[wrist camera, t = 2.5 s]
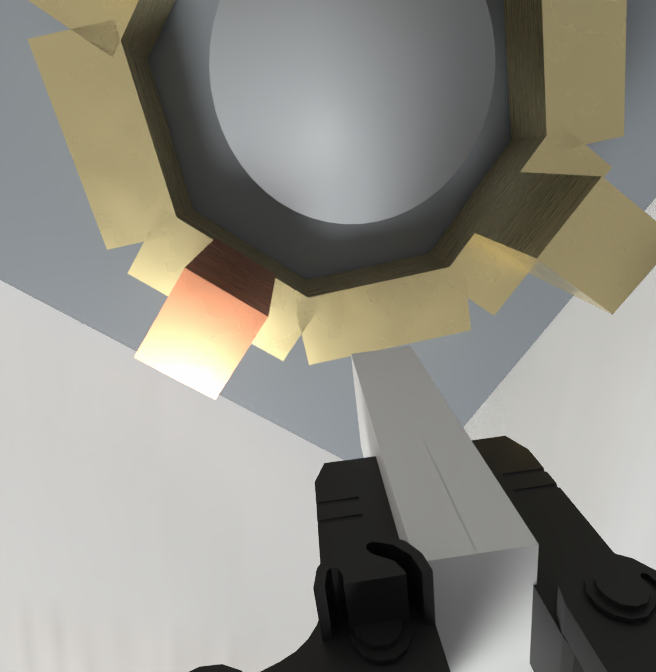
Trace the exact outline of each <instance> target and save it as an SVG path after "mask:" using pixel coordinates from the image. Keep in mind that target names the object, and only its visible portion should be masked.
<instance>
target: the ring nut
mask: <svg viewBox="0 0 656 672" xmlns="http://www.w3.org/2000/svg"><path fill="white" fill-rule="evenodd" d="M28 1H30V2H31V3H33V4H34V5H36V6H37V7H38V8H40V9H41V10H43V11H44V12H46V13H47V14H49V15H50V16H52V17H53V18H55V19H56V20H58V21H59V22H61V23H62V24H64V25H65V26H67V27H68V28H70V29H69V30H65V31H60V32H56V33H52V34H47V35H43V36H38V37H34V38H30V39H28V42H29V45H30V47H31V50H32V53H33V55H34V58H35V61H36V63H37V66H38V69H39V71H40V74H41V77H42V79H43V82H44V84H45V87H46V90H47V92H48V95H49V98H50V100H51V103H52V106H53V108H54V111H55V114H56V116H57V119H58V122H59V124H60V127H61V129H62V132H63V135H64V137H65V140H66V143H67V145H68V148H69V151H70V153H71V156H72V159H73V161H74V164H75V167H76V169H77V172H78V174H79V177H80V180H81V182H82V185H83V188H84V190H85V193H86V196H87V198H88V201H89V204H90V206H91V209H92V212H93V214H94V217H95V219H96V222H97V225H98V227H99V230H100V233H101V235H102V238H103V241H104V243H105V246H106V249H107V250H108V249H113V248H117V247H122V246H127V245H131V244H136V243H140V242H144V243H143V245H142V247H141V249H140V251H139V252H138V254H137V256H136V258H135V260H134V262H133V264H132V266H131V268H130V270H129V271H128V274H129V275H131V276H133V277H135V278H136V279H138V280H140V281H142V282H144V283H145V284H147V285H149V286H151V287H152V288H154V289H156V290H158V291H160V292H161V293H163V294H165V295H167V296H168V298H167V300H166V302H165V303H164V305H163V307H162V309H161V310H160V312H159V314H158V316H157V318H156V319H155V321H154V323H153V325H152V326H151V328H150V330H149V332H148V333H147V335H146V337H145V339H144V341H143V342H142V344H141V346H140V348H139V349H138V351H137V353H136V355H135V357H134V358H136V359H138V360H140V361H142V362H144V363H146V364H148V365H150V366H152V367H154V368H155V369H157V370H159V371H161V372H163V373H165V374H167V375H169V376H171V377H173V378H175V379H177V380H179V381H180V382H182V383H184V384H186V385H188V386H190V387H192V388H194V389H196V390H198V391H200V392H202V393H204V394H206V395H207V396H209V397H211V398H213V399H216V398H217V396H218V395H219V393H220V392H221V390H222V388H223V387H224V385H225V384H226V382H227V381H228V379H229V377H230V376H231V374H232V373H233V371H234V370H235V368H236V366H237V365H238V363H239V362H240V360H241V359H242V357H243V356H244V354H245V352H246V351H247V349H248V348H249V346H250V345H251V343H252V344H254V345H255V346H257V347H259V348H261V349H262V350H264V351H266V352H268V353H269V354H271V355H273V356H275V357H277V358H278V359H280V360H282V361H284V359H285V358H286V356H287V355H288V353H289V352H290V350H291V349H292V347H293V346H294V344H295V343H296V341H297V340H298V338H299V337H300V335H301V334H302V338H303V342H304V346H305V350H306V354H307V359H308V363H309V365H312V364H316V363H321V362H326V361H330V360H335V359H340V358H344V357H349V356H351V354H354V353H361V352H368V351H376V350H382V349H386V348H391V347H395V346H400V345H405V344H409V343H414V342H419V341H423V340H428V339H433V338H437V337H442V336H447V335H451V334H456V333H461V332H465V331H470V330H471V324H470V315H469V305H468V298H469V299H470V300H472V301H473V302H475V303H476V304H477V305H479V306H480V307H482V308H483V309H485V310H486V311H488V312H489V313H491V314H492V315H495V314H496V313H497V312H498V310H499V309H500V308H501V307H502V305H503V304H504V303H505V302H506V300H507V299H508V298H509V296H510V295H511V294H512V293H513V291H514V290H515V289H516V288H517V286H518V285H519V284H520V283H521V281H522V280H523V279H524V278H525V276H526V275H527V274H528V273H529V274H531V275H533V276H535V277H537V278H539V279H541V280H543V281H545V282H547V283H549V284H551V285H553V286H556V287H558V288H560V289H562V290H564V291H566V292H568V293H570V294H572V295H574V296H576V297H578V298H580V299H582V300H584V301H586V302H588V303H590V304H592V305H594V306H596V307H598V308H600V309H603V310H605V311H607V312H609V313H611V314H613V313H614V312H615V311H616V310H617V309H618V308H619V306H620V305H621V304H622V303H623V302H624V301H625V300H626V298H627V297H628V296H629V295H630V294H631V293H632V292H633V290H634V289H635V288H636V287H637V286H638V285H639V284H640V282H641V281H642V280H643V279H644V278H645V277H646V276H647V274H648V273H649V272H650V271H651V270H652V269H653V268H654V266H655V265H656V221H655V220H654V219H653V218H651V217H650V216H649V215H648V214H647V213H645V212H644V211H643V210H642V209H641V208H639V207H638V206H637V205H636V204H635V203H633V202H632V201H631V200H630V199H629V198H627V197H626V196H625V195H624V194H623V193H621V192H620V191H619V190H618V189H617V188H615V187H614V186H613V185H612V184H611V183H609V182H608V181H607V180H606V179H605V178H604V177H605V176H606V175H607V173H608V172H609V171H610V169H611V168H612V166H610V165H609V164H608V163H607V162H606V161H604V160H603V159H602V158H601V157H600V156H599V155H597V154H596V153H595V152H594V151H593V150H591V149H590V148H589V147H588V146H587V145H586V144H590V143H595V142H599V141H604V140H608V139H613V138H617V137H622V136H624V109H625V60H626V12H627V0H503V3H504V20H505V36H506V53H507V70H508V87H509V104H510V120H511V137H512V139H511V141H510V142H509V144H508V145H507V146H506V148H505V149H504V150H503V152H502V153H501V155H500V156H499V157H498V159H497V160H496V162H495V163H494V164H493V166H492V167H491V169H490V170H489V171H488V173H487V174H486V175H485V177H484V178H483V180H482V181H481V182H480V184H479V185H478V187H477V188H476V189H475V191H474V192H473V194H472V195H471V196H470V198H469V199H468V200H467V202H466V203H465V205H464V206H463V207H462V209H461V210H460V212H459V213H458V214H457V216H456V217H455V219H454V220H453V221H452V223H451V224H450V226H449V227H448V228H447V230H446V231H445V232H444V234H443V235H442V237H441V238H440V239H439V241H438V242H437V244H436V245H435V246H434V248H433V249H432V251H431V252H430V253H428V254H423V255H419V256H414V257H409V258H405V259H400V260H396V261H391V262H386V263H382V264H377V265H373V266H368V267H363V268H359V269H354V270H350V271H345V272H340V273H336V274H331V275H327V276H322V277H318V278H313V279H308V280H306V279H304V278H303V277H301V276H300V275H298V274H296V273H295V272H293V271H292V270H290V269H288V268H287V267H285V266H283V265H282V264H280V263H279V262H277V261H275V260H274V259H272V258H271V257H269V256H267V255H266V254H264V253H263V252H261V251H259V250H258V249H256V248H255V247H253V246H251V245H250V244H248V243H246V242H245V241H243V240H242V239H240V238H238V237H237V236H235V235H234V234H232V233H230V232H229V231H227V230H226V229H224V228H222V227H221V226H219V225H218V224H216V223H214V222H213V221H211V220H209V219H208V218H206V217H205V216H203V215H201V214H200V213H198V212H197V211H195V210H193V207H192V204H191V200H190V197H189V194H188V190H187V187H186V184H185V180H184V177H183V174H182V170H181V167H180V164H179V161H178V157H177V154H176V151H175V147H174V144H173V141H172V137H171V134H170V131H169V127H168V124H167V121H166V117H165V114H164V111H163V107H162V104H161V101H160V98H159V94H158V91H157V88H156V84H155V81H154V78H153V74H152V71H151V68H150V64H149V61H148V58H149V55H150V53H151V51H152V49H153V47H154V45H155V43H156V41H157V38H158V36H159V34H160V32H161V30H162V28H163V26H164V24H165V22H166V19H167V17H168V15H169V13H170V11H171V9H172V7H173V5H174V2H175V0H28Z"/></svg>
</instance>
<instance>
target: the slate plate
mask: <svg viewBox="0 0 656 672" xmlns="http://www.w3.org/2000/svg"><path fill="white" fill-rule="evenodd" d="M69 29H70V28H68V27H67V26H65V25H64V24H62V23H61V22H59V21H58V20H56V19H55V18H53V17H52V16H50V15H49V14H47V13H46V12H44V11H43V10H41V9H40V8H38V7H37V6H36V5H34V4H33V3H31V2H30V1H28V0H0V280H2V281H3V282H5V283H7V284H9V285H11V286H13V287H15V288H17V289H19V290H21V291H23V292H24V293H26V294H28V295H30V296H32V297H34V298H36V299H38V300H40V301H42V302H44V303H45V304H47V305H49V306H51V307H53V308H55V309H57V310H59V311H61V312H63V313H65V314H66V315H68V316H70V317H72V318H74V319H76V320H78V321H80V322H82V323H84V324H86V325H87V326H89V327H91V328H93V329H95V330H97V331H99V332H101V333H103V334H105V335H107V336H108V337H110V338H112V339H114V340H116V341H118V342H120V343H122V344H124V345H126V346H128V347H129V348H131V349H133V350H135V351H138V349H139V348H140V346H141V344H142V342H143V341H144V339H145V337H146V335H147V333H148V332H149V330H150V328H151V326H152V325H153V323H154V321H155V319H156V318H157V316H158V314H159V312H160V310H161V309H162V307H163V305H164V303H165V302H166V300H167V298H168V296H167V295H165V294H163V293H161V292H160V291H158V290H156V289H154V288H152V287H151V286H149V285H147V284H145V283H144V282H142V281H140V280H138V279H136V278H135V277H133V276H131V275H129V274H128V271H129V270H130V268H131V266H132V264H133V262H134V260H135V258H136V256H137V254H138V252H139V251H140V249H141V247H142V245H143V243H144V242H140V243H136V244H131V245H127V246H122V247H117V248H113V249H108V250H107V249H106V246H105V243H104V241H103V238H102V235H101V233H100V230H99V227H98V225H97V222H96V219H95V217H94V214H93V212H92V209H91V206H90V204H89V201H88V198H87V196H86V193H85V190H84V188H83V185H82V182H81V180H80V177H79V174H78V172H77V169H76V167H75V164H74V161H73V159H72V156H71V153H70V151H69V148H68V145H67V143H66V140H65V137H64V135H63V132H62V129H61V127H60V124H59V122H58V119H57V116H56V114H55V111H54V108H53V106H52V103H51V100H50V98H49V95H48V92H47V90H46V87H45V84H44V82H43V79H42V77H41V74H40V71H39V69H38V66H37V63H36V61H35V58H34V55H33V53H32V50H31V47H30V45H29V42H28V39H30V38H34V37H38V36H43V35H47V34H52V33H56V32H60V31H65V30H69ZM148 61H149V64H150V68H151V71H152V74H153V78H154V81H155V84H156V88H157V91H158V94H159V98H160V101H161V104H162V107H163V111H164V114H165V117H166V121H167V124H168V127H169V131H170V134H171V137H172V141H173V144H174V147H175V151H176V154H177V157H178V161H179V164H180V167H181V170H182V174H183V177H184V180H185V184H186V187H187V190H188V194H189V197H190V200H191V204H192V207H193V210H195V211H197V212H198V213H200V214H201V215H203V216H205V217H206V218H208V219H209V220H211V221H213V222H214V223H216V224H218V225H219V226H221V227H222V228H224V229H226V230H227V231H229V232H230V233H232V234H234V235H235V236H237V237H238V238H240V239H242V240H243V241H245V242H246V243H248V244H250V245H251V246H253V247H255V248H256V249H258V250H259V251H261V252H263V253H264V254H266V255H267V256H269V257H271V258H272V259H274V260H275V261H277V262H279V263H280V264H282V265H283V266H285V267H287V268H288V269H290V270H292V271H293V272H295V273H296V274H298V275H300V276H301V277H303V278H304V279H306V280H308V279H313V278H318V277H322V276H327V275H331V274H336V273H340V272H345V271H350V270H354V269H359V268H363V267H368V266H373V265H377V264H382V263H386V262H391V261H396V260H400V259H405V258H409V257H414V256H419V255H423V254H428V253H430V252H431V251H432V249H433V248H434V246H435V245H436V244H437V242H438V241H439V239H440V238H441V237H442V235H443V234H444V232H445V231H446V230H447V228H448V227H449V226H450V224H451V223H452V221H453V220H454V219H455V217H456V216H457V214H458V213H459V212H460V210H461V209H462V207H463V206H464V205H465V203H466V202H467V200H468V199H469V198H470V196H471V195H472V194H473V192H474V191H475V189H476V188H477V187H478V185H479V184H480V182H481V181H482V180H483V178H484V177H485V175H486V174H487V173H488V171H489V170H490V169H491V167H492V166H493V164H494V163H495V162H496V160H497V159H498V157H499V156H500V155H501V153H502V152H503V150H504V149H505V148H506V146H507V145H508V144H509V142H510V141H511V139H512V137H511V120H510V104H509V87H508V70H507V53H506V36H505V20H504V3H503V0H175V2H174V5H173V7H172V9H171V11H170V13H169V15H168V17H167V19H166V22H165V24H164V26H163V28H162V30H161V32H160V34H159V36H158V38H157V41H156V43H155V45H154V47H153V49H152V51H151V53H150V55H149V58H148ZM586 145H587V146H588V147H589V148H590V149H591V150H593V151H594V152H595V153H596V154H597V155H599V156H600V157H601V158H602V159H603V160H604V161H606V162H607V163H608V164H609V165H610V166H612V168H611V169H610V171H609V172H608V173H607V175H606V176H605V177H604V178H605V179H606V180H607V181H608V182H609V183H611V184H612V185H613V186H614V187H615V188H617V189H618V190H619V191H620V192H621V193H623V194H624V195H625V196H626V197H627V198H629V199H630V200H631V201H632V202H633V203H635V204H636V205H637V206H638V207H639V208H641V209H642V210H643V211H645V210H646V208H647V207H648V206H649V205H650V204H651V202H652V201H653V200H654V199H655V198H656V0H627V12H626V60H625V109H624V136H622V137H617V138H613V139H608V140H604V141H599V142H595V143H590V144H586ZM573 296H574V295H572V294H570V293H568V292H566V291H564V290H562V289H560V288H558V287H556V286H553V285H551V284H549V283H547V282H545V281H543V280H541V279H539V278H537V277H535V276H533V275H531V274H529V273H528V274H527V275H526V276H525V278H524V279H523V280H522V281H521V283H520V284H519V285H518V286H517V288H516V289H515V290H514V291H513V293H512V294H511V295H510V296H509V298H508V299H507V300H506V302H505V303H504V304H503V305H502V307H501V308H500V309H499V310H498V312H497V313H496V314H495V315H492V314H491V313H489V312H488V311H486V310H485V309H483V308H482V307H480V306H479V305H477V304H476V303H475V302H473V301H472V300H470V299H469V298H468V305H469V315H470V324H471V330H470V331H465V332H461V333H456V334H451V335H447V336H442V337H437V338H433V339H428V340H423V341H419V342H414V343H409V344H405V345H400V346H395V347H391V348H398V347H405V346H411V348H412V350H413V351H414V353H415V354H416V356H417V357H418V359H419V360H420V362H421V363H422V365H423V367H424V368H425V370H426V371H427V373H428V374H429V376H430V377H431V379H432V380H433V382H434V384H435V385H436V387H437V388H438V390H439V391H440V393H441V394H442V396H443V397H444V399H445V400H446V402H447V404H448V405H449V407H450V408H451V410H452V411H453V413H454V414H455V416H456V417H457V419H458V421H459V422H460V424H461V425H462V427H464V426H465V424H466V423H467V422H468V421H469V420H470V418H471V417H472V416H473V415H474V414H475V412H476V411H477V410H478V409H479V408H480V406H481V405H482V404H483V403H484V402H485V401H486V399H487V398H488V397H489V396H490V395H491V393H492V392H493V391H494V390H495V389H496V387H497V386H498V385H499V384H500V383H501V381H502V380H503V379H504V378H505V377H506V375H507V374H508V373H509V372H510V371H511V369H512V368H513V367H514V366H515V365H516V364H517V362H518V361H519V360H520V359H521V358H522V356H523V355H524V354H525V353H526V352H527V350H528V349H529V348H530V347H531V346H532V344H533V343H534V342H535V341H536V340H537V338H538V337H539V336H540V335H541V334H542V333H543V331H544V330H545V329H546V328H547V327H548V325H549V324H550V323H551V322H552V321H553V319H554V318H555V317H556V316H557V315H558V313H559V312H560V311H561V310H562V309H563V307H564V306H565V305H566V304H567V303H568V301H569V300H570V299H571V298H572V297H573ZM386 349H390V348H386ZM382 350H383V349H382ZM219 395H221V396H223V397H225V398H227V399H229V400H231V401H233V402H234V403H236V404H238V405H240V406H242V407H244V408H246V409H248V410H250V411H252V412H254V413H255V414H257V415H259V416H261V417H263V418H265V419H267V420H269V421H271V422H273V423H275V424H276V425H278V426H280V427H282V428H284V429H286V430H288V431H290V432H292V433H294V434H296V435H297V436H299V437H301V438H303V439H305V440H307V441H309V442H311V443H313V444H315V445H317V446H318V447H320V448H322V449H324V450H326V451H328V452H330V453H332V454H334V455H336V456H338V457H339V458H341V459H343V460H351V459H358V458H364V457H363V453H362V449H361V442H360V433H359V423H358V414H357V405H356V396H355V387H354V377H353V368H352V359H351V356H349V357H344V358H340V359H335V360H330V361H326V362H321V363H316V364H312V365H309V363H308V359H307V354H306V350H305V346H304V342H303V338H302V334H301V335H300V337H299V338H298V340H297V341H296V343H295V344H294V346H293V347H292V349H291V350H290V352H289V353H288V355H287V356H286V358H285V359H284V361H282V360H280V359H278V358H277V357H275V356H273V355H271V354H269V353H268V352H266V351H264V350H262V349H261V348H259V347H257V346H255V345H254V344H252V343H251V345H250V346H249V348H248V349H247V351H246V352H245V354H244V356H243V357H242V359H241V360H240V362H239V363H238V365H237V366H236V368H235V370H234V371H233V373H232V374H231V376H230V377H229V379H228V381H227V382H226V384H225V385H224V387H223V388H222V390H221V392H220V393H219Z"/></svg>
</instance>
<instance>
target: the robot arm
mask: <svg viewBox="0 0 656 672" xmlns="http://www.w3.org/2000/svg"><path fill="white" fill-rule="evenodd" d="M351 359H352V368H353V377H354V387H355V396H356V405H357V414H358V423H359V433H360V442H361V449H362V453H363V457H364V458H358V459H351V460H344V461H337V462H330V463H324V465H323V467H322V469H321V471H320V473H319V475H318V477H317V479H316V481H315V491H316V504H317V520H318V534H319V548H320V563H321V564H320V565H319V567H318V568H317V571H316V577H315V582H314V588H313V589H314V594H315V600H316V606H317V612H318V618H319V621H318V624H317V626H316V627H315V629H314V631H313V632H312V634H311V635H310V637H309V639H308V640H307V641H306V642H305V643H304V644H303V645H302V646H301V647H300V648H299V649H298V650H297V651H296V652H294V653H293V654H291V655H290V656H288V657H287V658H285V659H284V660H282V661H280V662H279V663H277V664H275V665H273V666H271V667H269V668H267V669H265V670H263V671H261V672H532V669H533V671H534V672H656V570H654V569H652V568H650V567H648V566H646V565H644V564H642V563H640V562H639V561H637V560H635V559H633V558H629V557H625V556H622V555H618V554H615V553H614V552H613V551H612V550H611V549H610V548H609V546H608V545H607V544H606V543H605V542H604V540H603V539H602V538H601V537H600V536H599V534H598V533H597V532H596V531H595V529H594V528H593V527H592V526H591V525H590V523H589V522H588V521H587V520H586V519H585V517H584V516H583V515H582V514H581V513H580V511H579V510H578V509H577V508H576V506H575V505H574V504H573V503H572V502H571V500H570V499H569V498H568V497H567V496H566V494H565V493H564V492H563V491H562V490H561V488H558V487H557V484H556V482H555V481H554V480H553V479H552V477H551V476H550V475H549V474H548V473H547V472H545V471H544V468H543V467H542V465H541V464H540V463H539V462H538V461H537V459H536V458H535V457H534V456H533V454H532V453H531V452H530V451H529V450H528V449H527V448H525V447H523V446H522V445H520V444H518V443H517V442H515V441H513V440H511V439H510V438H508V437H506V436H500V437H493V438H486V439H479V440H472V441H471V439H470V438H469V436H468V434H467V433H466V431H465V430H464V428H463V427H462V425H461V424H460V422H459V421H458V419H457V417H456V416H455V414H454V413H453V411H452V410H451V408H450V407H449V405H448V404H447V402H446V400H445V399H444V397H443V396H442V394H441V393H440V391H439V390H438V388H437V387H436V385H435V384H434V382H433V380H432V379H431V377H430V376H429V374H428V373H427V371H426V370H425V368H424V367H423V365H422V363H421V362H420V360H419V359H418V357H417V356H416V354H415V353H414V351H413V350H412V348H411V346H405V347H398V348H390V349H383V350H376V351H368V352H361V353H354V354H351ZM190 672H242V671H241V670H238V669H235V668H232V667H229V666H226V665H223V664H220V665H211V666H202V667H198V668H196V669H194V670H192V671H190Z"/></svg>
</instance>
